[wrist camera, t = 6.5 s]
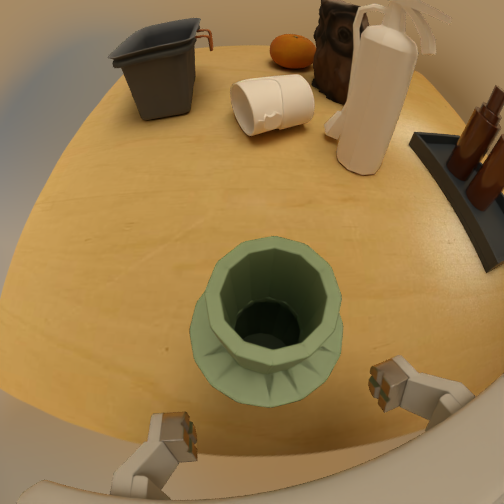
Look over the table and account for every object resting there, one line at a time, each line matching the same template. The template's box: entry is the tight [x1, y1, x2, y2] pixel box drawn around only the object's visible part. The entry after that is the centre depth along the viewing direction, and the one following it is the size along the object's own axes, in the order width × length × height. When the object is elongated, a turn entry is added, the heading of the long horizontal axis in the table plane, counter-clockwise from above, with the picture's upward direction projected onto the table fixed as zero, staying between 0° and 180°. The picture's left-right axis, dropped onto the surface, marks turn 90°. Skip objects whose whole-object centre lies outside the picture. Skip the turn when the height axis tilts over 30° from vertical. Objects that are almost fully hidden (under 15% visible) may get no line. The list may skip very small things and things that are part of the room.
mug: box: [230, 74, 314, 136], centre depth 35 cm, size 12×9×8 cm
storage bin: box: [108, 18, 213, 120], centre depth 38 cm, size 21×16×14 cm
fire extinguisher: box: [324, 0, 452, 175], centre depth 24 cm, size 7×12×25 cm, turn 33°
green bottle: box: [190, 236, 343, 408], centre depth 15 cm, size 6×6×18 cm
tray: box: [409, 132, 504, 273], centre depth 31 cm, size 24×13×3 cm, turn 12°
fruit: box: [270, 34, 316, 68], centre depth 47 cm, size 10×10×8 cm
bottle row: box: [446, 85, 504, 211], centre depth 25 cm, size 11×5×18 cm, turn 12°
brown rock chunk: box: [312, 0, 369, 105], centre depth 36 cm, size 13×13×20 cm
